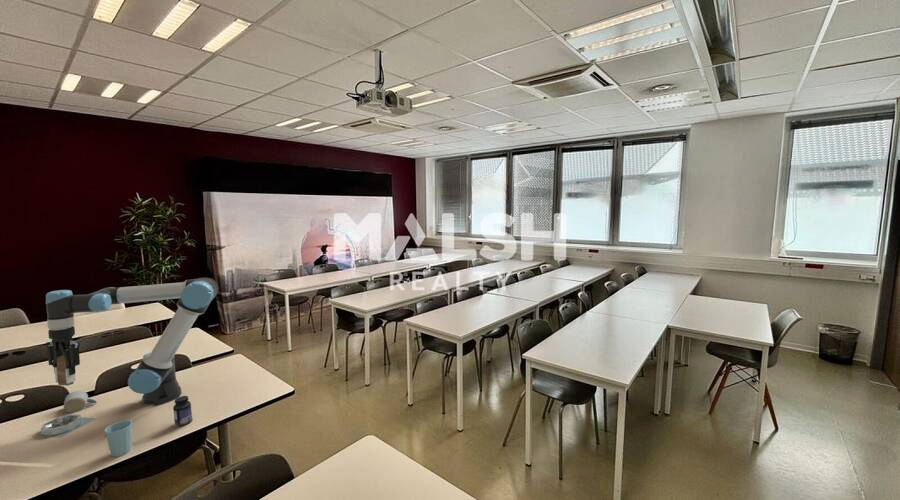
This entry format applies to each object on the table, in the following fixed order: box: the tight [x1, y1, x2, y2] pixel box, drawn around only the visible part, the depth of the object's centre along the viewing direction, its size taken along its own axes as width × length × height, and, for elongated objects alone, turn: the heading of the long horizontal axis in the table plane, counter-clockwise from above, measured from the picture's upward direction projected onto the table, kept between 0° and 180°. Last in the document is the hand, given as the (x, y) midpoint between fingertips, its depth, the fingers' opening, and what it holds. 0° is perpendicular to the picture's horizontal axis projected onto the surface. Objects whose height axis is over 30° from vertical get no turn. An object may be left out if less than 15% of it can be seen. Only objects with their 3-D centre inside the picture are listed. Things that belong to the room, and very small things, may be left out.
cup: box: [104, 420, 133, 458], centre depth 137 cm, size 8×8×10 cm
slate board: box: [32, 416, 98, 438], centre depth 153 cm, size 13×14×1 cm
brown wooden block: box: [56, 354, 75, 386], centre depth 153 cm, size 2×4×12 cm, turn 83°
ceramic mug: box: [63, 390, 98, 414], centre depth 169 cm, size 11×8×8 cm
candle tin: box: [40, 413, 82, 436], centre depth 152 cm, size 11×11×3 cm
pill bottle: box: [172, 395, 193, 427], centre depth 156 cm, size 6×6×11 cm
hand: (65, 381), depth 154 cm, fingers closed on brown wooden block, 4 cm apart
